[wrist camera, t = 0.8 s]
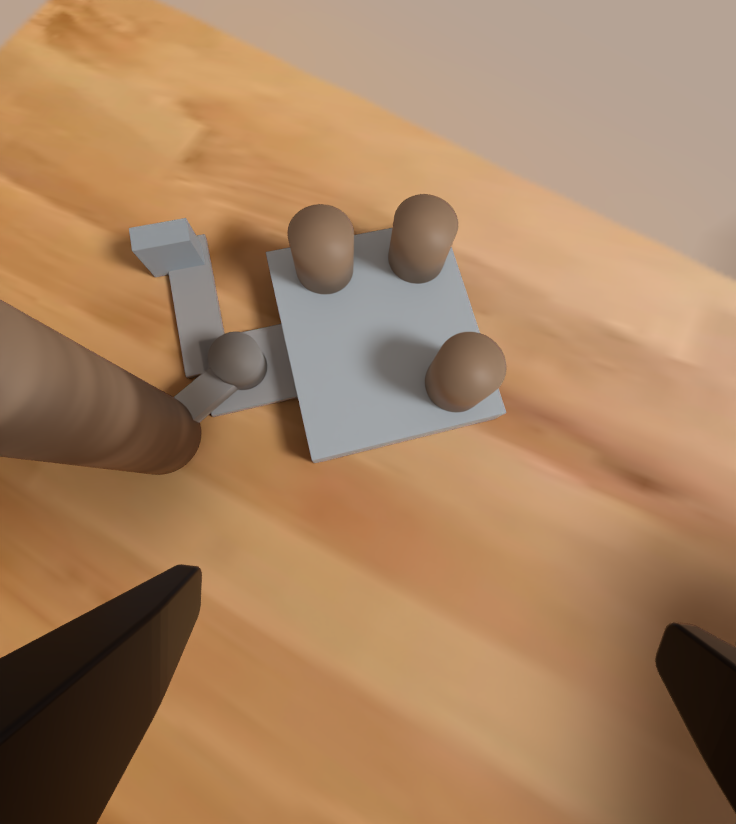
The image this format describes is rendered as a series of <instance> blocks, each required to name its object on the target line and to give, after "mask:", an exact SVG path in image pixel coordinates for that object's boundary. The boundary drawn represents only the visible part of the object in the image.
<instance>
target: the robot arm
mask: <svg viewBox="0 0 736 824" xmlns="http://www.w3.org/2000/svg"><path fill="white" fill-rule="evenodd" d="M201 583H202V572H201V569H200V568H199V567H198V566H190V565H176V566H174V567H172V568H170V569H168V570H167V571H165V572H163V573H161V574H159V575H157V576H155V577H153V578H151V579H150V580H148V581H146V582H144V583H142V584H140V585H138V586H136V587H134V588H132V589H131V590H129V591H127V592H125V593H123V594H121V595H119V596H117V597H115V598H114V599H112V600H110V601H108V602H106V603H104V604H102V605H100V606H98V607H96V608H95V609H93V610H91V611H89V612H87V613H85V614H83V615H81V616H79V617H78V618H76V619H74V620H72V621H70V622H68V623H66V624H64V625H62V626H60V627H59V628H57V629H55V630H53V631H51V632H49V633H47V634H45V635H43V636H42V637H40V638H38V639H36V640H34V641H32V642H30V643H28V644H26V645H25V646H23V647H21V648H19V649H17V650H15V651H13V652H11V653H9V654H7V655H6V656H4V657H2V658H0V824H97V822H98V820H99V818H100V816H101V814H102V813H103V811H104V809H105V807H106V805H107V803H108V801H109V800H110V798H111V796H112V794H113V792H114V790H115V788H116V787H117V785H118V783H119V781H120V779H121V777H122V776H123V774H124V772H125V770H126V768H127V766H128V764H129V763H130V761H131V759H132V757H133V755H134V753H135V751H136V750H137V748H138V746H139V744H140V742H141V740H142V739H143V737H144V735H145V733H146V731H147V729H148V727H149V726H150V724H151V722H152V720H153V718H154V716H155V714H156V712H157V710H158V708H159V706H160V704H161V702H162V700H163V697H164V695H165V693H166V691H167V688H168V686H169V684H170V681H171V679H172V677H173V674H174V672H175V670H176V667H177V665H178V663H179V660H180V658H181V656H182V653H183V651H184V649H185V646H186V644H187V641H188V639H189V637H190V634H191V632H192V630H193V627H194V625H195V623H196V620H197V618H198V615H199V611H200V606H201ZM655 662H656V667H657V670H658V673H659V675H660V677H661V679H662V680H663V682H664V684H665V686H666V688H667V690H668V692H669V694H670V696H671V698H672V700H673V702H674V704H675V706H676V707H677V709H678V711H679V713H680V715H681V717H682V719H683V721H684V723H685V725H686V727H687V729H688V731H689V733H690V734H691V736H692V738H693V740H694V742H695V744H696V746H697V748H698V750H699V752H700V754H701V755H702V757H703V759H704V761H705V763H706V765H707V766H708V768H709V770H710V772H711V773H712V775H713V777H714V778H715V780H716V782H717V784H718V785H719V787H720V788H721V790H722V792H723V793H724V795H725V797H726V798H727V800H728V802H729V803H730V805H731V807H732V808H733V810H734V811H735V813H736V647H734V646H732V645H730V644H728V643H727V642H725V641H723V640H721V639H719V638H717V637H716V636H714V635H712V634H710V633H708V632H707V631H705V630H703V629H701V628H699V627H697V626H695V625H692V624H684V623H676V622H673V623H670V624H669V625H667V626H666V628H665V631H664V634H663V637H662V639H661V642H660V645H659V648H658V651H657V653H656V658H655Z"/></svg>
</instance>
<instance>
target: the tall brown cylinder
mask: <svg viewBox="0 0 736 824" xmlns="http://www.w3.org/2000/svg"><path fill="white" fill-rule="evenodd" d="M208 363H209V366H210V368H208V369H207V370H206V371H205V372H204V373H202V374H201V375H200V376H199V377H198V378H196V379H195V380H194V381H193V382H191V383H190V384H189V385H188V386H187V387H185V388H184V389H183V390H182V391H181V392H179V393H178V394H177V395H176V396H175V397H172V396H170V395H168V394H166V393H165V392H163V391H161V390H159V389H158V388H156V387H154V386H152V385H150V384H149V383H147V382H145V381H143V380H142V379H140V378H138V377H136V376H135V375H133V374H131V373H129V372H128V371H126V370H124V369H122V368H120V367H119V366H117V365H115V364H113V363H112V362H110V361H108V360H106V359H105V358H103V357H101V356H99V355H97V354H96V353H94V352H92V351H90V350H89V349H87V348H85V347H83V346H82V345H80V344H78V343H76V342H75V341H73V340H71V339H69V338H67V337H66V336H64V335H62V334H60V333H59V332H57V331H55V330H53V329H52V328H50V327H48V326H46V325H44V324H43V323H41V322H39V321H37V320H36V319H34V318H32V317H30V316H29V315H27V314H25V313H23V312H22V311H20V310H18V309H16V308H14V307H13V306H11V305H9V304H7V303H6V302H4V301H2V300H0V457H9V458H17V459H26V460H35V461H43V462H52V463H60V464H69V465H77V466H86V467H95V468H103V469H112V470H120V471H129V472H137V473H146V474H155V475H160V474H168V473H171V472H174V471H176V470H178V469H180V468H182V467H183V466H184V465H186V464H187V463H188V462H189V461H190V460H191V459H192V457H193V456H194V455H195V453H196V451H197V449H198V447H199V444H200V440H201V426H200V422H201V421H202V420H203V419H204V418H205V417H207V416H208V415H209V414H210V413H211V412H212V411H214V410H215V409H216V408H217V407H218V406H219V405H221V404H222V403H223V402H224V401H225V400H226V399H228V398H229V397H230V396H231V395H232V394H233V393H235V392H236V391H237V390H248V389H252V388H254V387H256V386H257V385H258V384H260V383H261V382H262V380H263V379H264V378H265V376H266V373H267V360H266V358H265V356H264V354H263V352H262V351H261V349H260V347H259V346H258V344H257V343H256V341H255V340H254V339H253V338H252V337H251V336H249V335H247V334H245V333H242V332H229V333H226V334H223V335H221V336H220V337H218V338H217V339H216V340H215V341H214V342H213V343H212V345H211V347H210V349H209V352H208Z"/></svg>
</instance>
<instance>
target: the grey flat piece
mask: <svg viewBox="0 0 736 824" xmlns="http://www.w3.org/2000/svg"><path fill="white" fill-rule="evenodd" d="M457 230H458V219H457V215H456V213H455V211H454V209H453V208H452V207H451V206H450V205H449V204H448V203H447V202H446V201H444V200H443V199H441V198H439V197H436V196H433V195H428V194H420V195H415V196H412V197H409V198H408V199H406V200H404V201H403V202H402V203H401V204H400V205H399V207H398V208H397V210H396V212H395V216H394V222H393V228H389V229H384V230H378V231H373V232H368V233H363V234H358V235H354V229H353V225H352V223H351V221H350V219H349V218H348V216H347V215H346V214H345V213H344V212H342V211H341V210H339V209H338V208H335V207H333V206H329V205H323V204H318V205H312V206H308V207H306V208H304V209H302V210H300V211H299V212H298V213H297V214H295V216H294V217H293V218H292V220H291V221H290V224H289V227H288V240H289V244H290V248H285V249H279V250H274V251H269V252H266V256H267V261H268V265H269V270H270V274H271V279H272V283H273V288H274V292H275V297H276V301H277V306H278V310H279V314H280V319H281V323H282V324H279V325H274V326H269V327H265V328H260V329H255V330H250V331H246V332H242V333H245V334H247V335H249V336H251V337H252V338H253V339H254V340H255V341H256V343H257V344H258V346H259V347H260V349H261V351H262V352H263V354H264V356H265V358H266V360H267V373H266V376H265V378H264V379H263V380H262V382H261V383H260V384H258V385H257V386H256V387H254V388H252V389H248V390H237V391H236V392H235V393H233V394H232V395H231V396H230V397H229V398H228V399H226V400H225V401H224V402H223V403H222V404H221V405H219V406H218V407H217V408H216V409H215V410H214V411H212V412H211V414H212V416H213V417H216V416H220V415H225V414H229V413H233V412H238V411H242V410H246V409H251V408H255V407H259V406H264V405H268V404H272V403H277V402H281V401H285V400H290V399H294V398H298V400H299V404H300V409H301V413H302V418H303V422H304V427H305V431H306V436H307V440H308V445H309V449H310V454H311V458H312V461H313V462H314V463H319V462H323V461H327V460H331V459H335V458H339V457H343V456H347V455H351V454H355V453H359V452H363V451H367V450H371V449H375V448H379V447H383V446H387V445H391V444H395V443H400V442H404V441H408V440H412V439H416V438H420V437H424V436H428V435H432V434H436V433H440V432H444V431H448V430H452V429H456V428H460V427H464V426H468V425H472V424H476V423H480V422H484V421H489V420H493V419H496V418H498V417H500V416H501V415H503V414H505V413H506V410H505V407H504V404H503V401H502V398H501V395H500V392H499V389H498V388H499V387H500V386H501V384H502V382H503V380H504V378H505V375H506V360H505V356H504V354H503V352H502V350H501V348H500V347H499V346H498V345H497V343H496V342H495V341H493V340H492V339H491V338H489V337H488V336H486V335H484V334H481V333H480V332H479V329H478V326H477V323H476V320H475V317H474V314H473V311H472V307H471V304H470V301H469V298H468V295H467V292H466V289H465V286H464V283H463V280H462V277H461V274H460V271H459V268H458V265H457V262H456V259H455V256H454V253H453V250H452V247H451V246H452V243H453V241H454V239H455V236H456V233H457ZM129 233H130V240H131V246H132V251H133V253H134V254H135V255H136V256H137V257H138V258H139V259H140V261H141V262H142V263H143V264H144V265H145V266H146V267H147V268H148V270H149V271H150V272H151V273H152V274H153V275H154V276H155V277H159V276H164V275H169V277H170V283H171V290H172V296H173V302H174V308H175V314H176V320H177V326H178V332H179V338H180V344H181V350H182V356H183V362H184V368H185V374H186V377H187V378H193V377H197V376H200V375H201V374H202V373H204V372H205V371H206V370H207V369H208V368H210V366H209V363H208V352H209V349H210V347H211V345H212V343H213V342H214V341H215V340H216V339H217V338H218V337H220V336H221V335H223V334H224V328H223V323H222V318H221V313H220V307H219V302H218V297H217V292H216V286H215V281H214V276H213V270H212V265H211V260H210V255H209V249H208V244H207V239H206V236H205V234H203V235H197V236H196V234H195V233H194V231H193V229H192V228H191V226H190V224H189V223H188V221H187V219H186V218H183V219H178V220H172V221H167V222H161V223H156V224H150V225H144V226H139V227H133V228H129Z"/></svg>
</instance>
